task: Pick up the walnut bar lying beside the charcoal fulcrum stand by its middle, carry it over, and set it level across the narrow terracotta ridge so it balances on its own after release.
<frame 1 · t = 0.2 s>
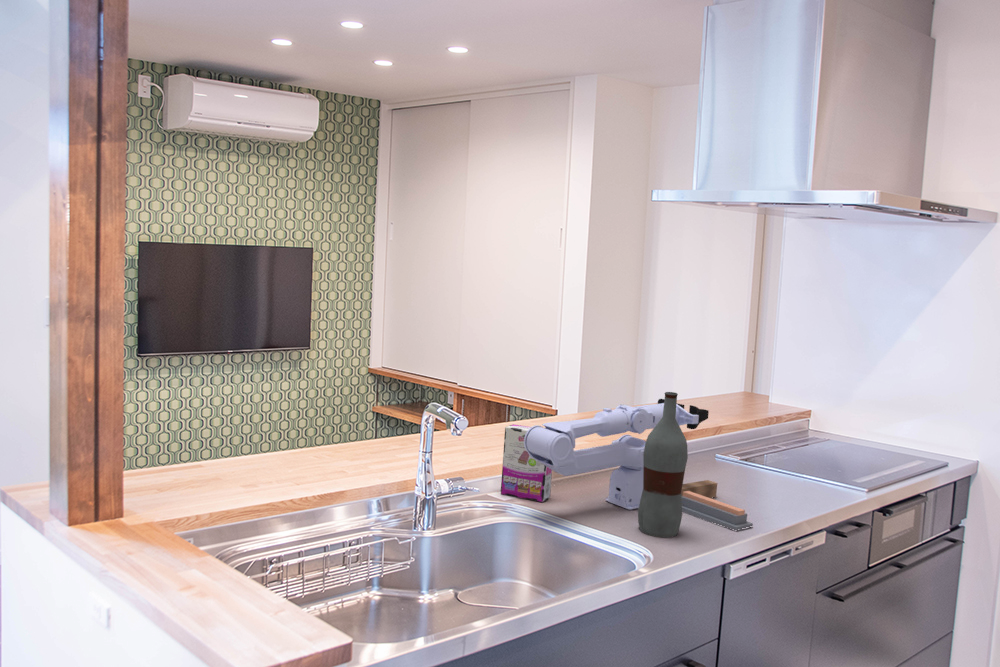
hand: (695, 411, 206), 21 cm above the counter, tool horizontal, fingers open, 7 cm apart
walnut bar: (684, 501, 201), on the counter
fulcrum stand: (711, 517, 189), on the counter
bottle: (658, 531, 177), on the counter
candy bar box: (525, 497, 195), on the counter
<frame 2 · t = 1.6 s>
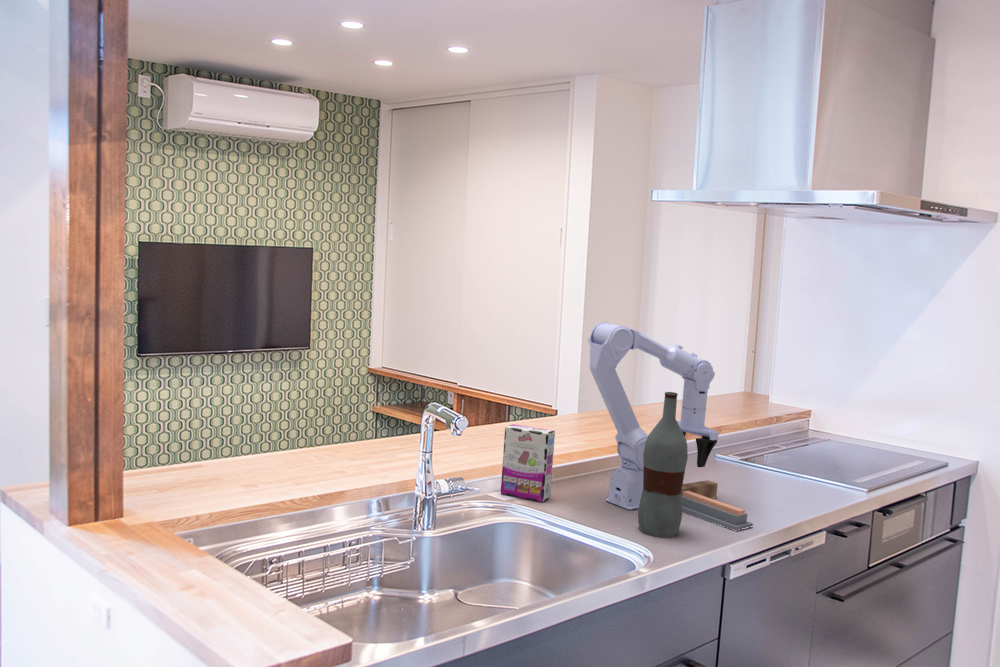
hand: (688, 462, 201), 9 cm above the counter, tool pointing down, fingers open, 7 cm apart
nothing on the counter moved.
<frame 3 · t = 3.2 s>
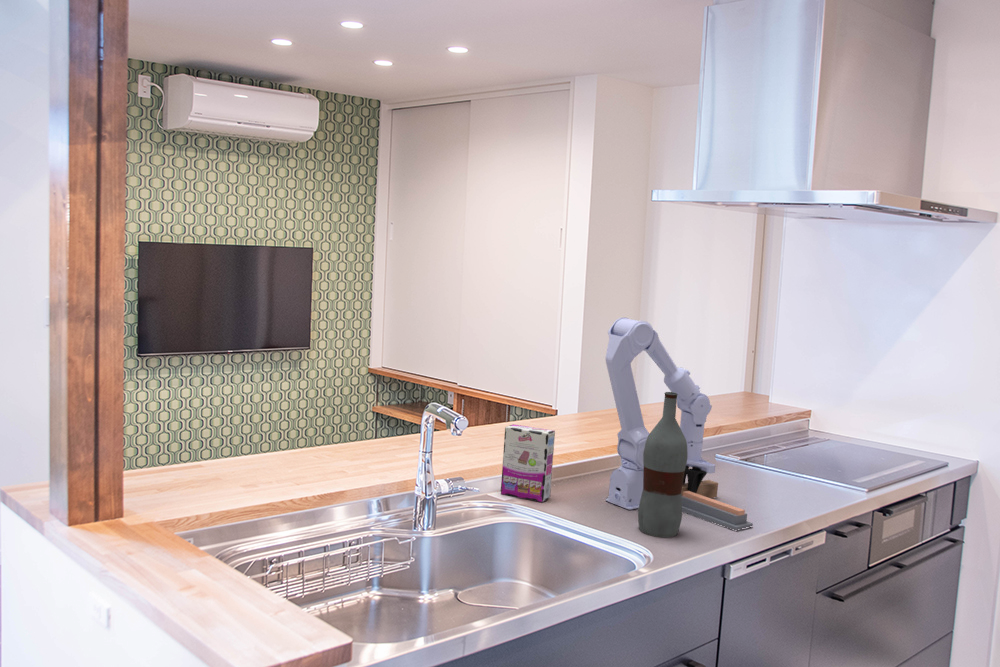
hand: (685, 494, 201), 1 cm above the counter, tool pointing down, fingers closed on walnut bar, 3 cm apart
walnut bar: (684, 501, 201), on the counter, touching gripper
everything else where it was.
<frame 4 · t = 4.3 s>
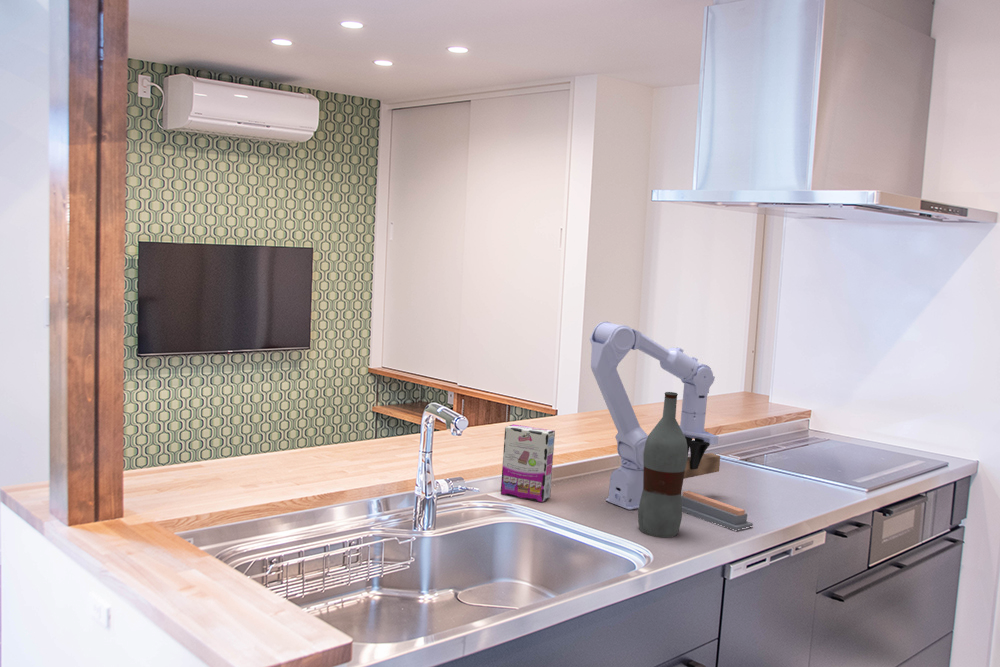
hand: (688, 467, 201), 8 cm above the counter, tool pointing down, fingers closed on walnut bar, 3 cm apart
walnut bar: (687, 475, 201), point 6 cm above the counter, touching gripper
everything else where it was.
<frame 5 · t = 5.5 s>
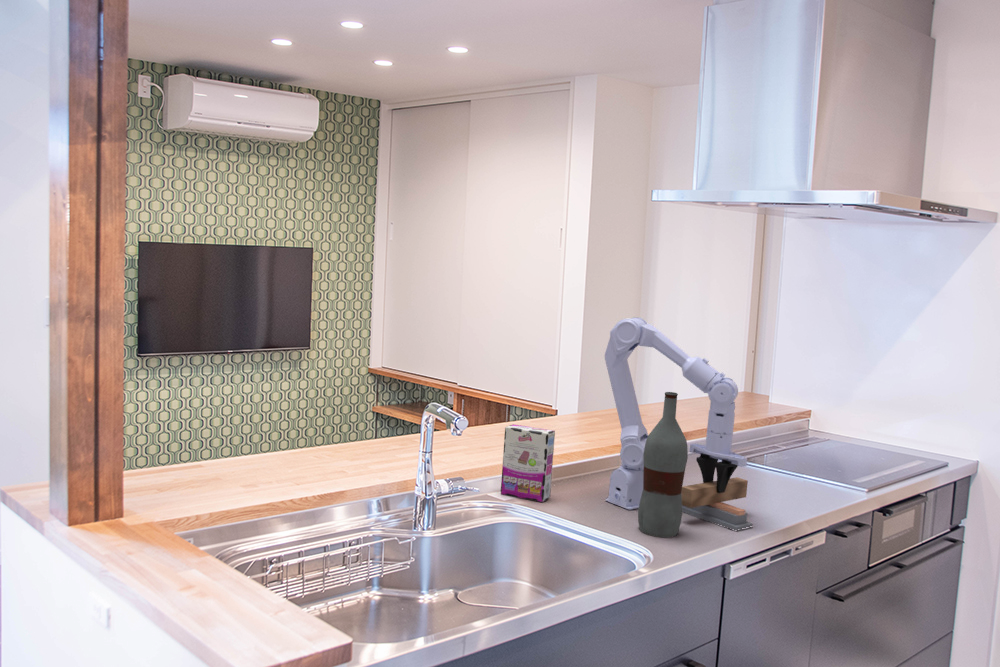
hand: (714, 490, 188), 6 cm above the counter, tool pointing down, fingers closed on walnut bar, 3 cm apart
walnut bar: (713, 500, 189), point 4 cm above the counter, touching fulcrum stand, gripper
everything else where it was.
when the fingers open (6 cm above the counter, at t = 5.8 s): walnut bar stays where it is, resting on fulcrum stand.
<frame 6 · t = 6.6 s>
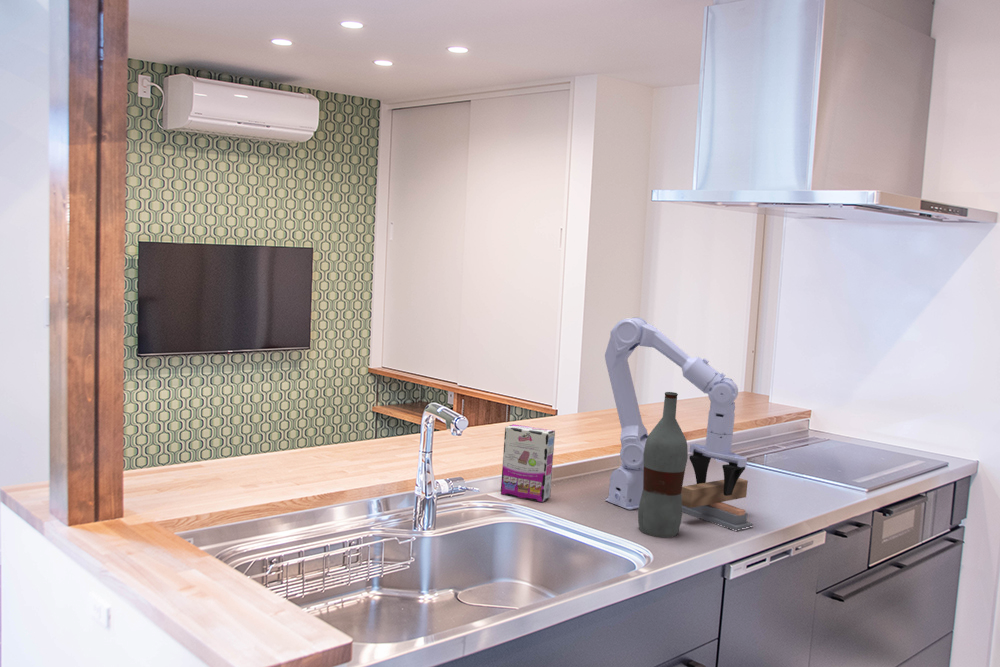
hand: (714, 490, 188), 6 cm above the counter, tool pointing down, fingers open, 7 cm apart
walnut bar: (713, 500, 189), point 4 cm above the counter, touching fulcrum stand
everything else where it was.
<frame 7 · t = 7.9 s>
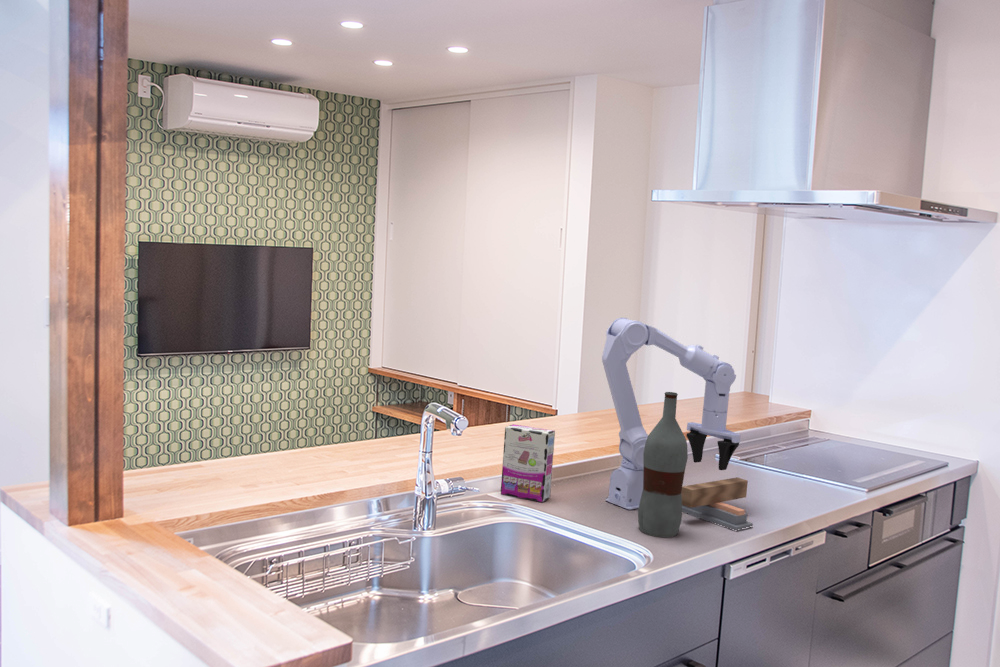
hand: (709, 465, 199), 9 cm above the counter, tool pointing down, fingers open, 7 cm apart
nothing on the counter moved.
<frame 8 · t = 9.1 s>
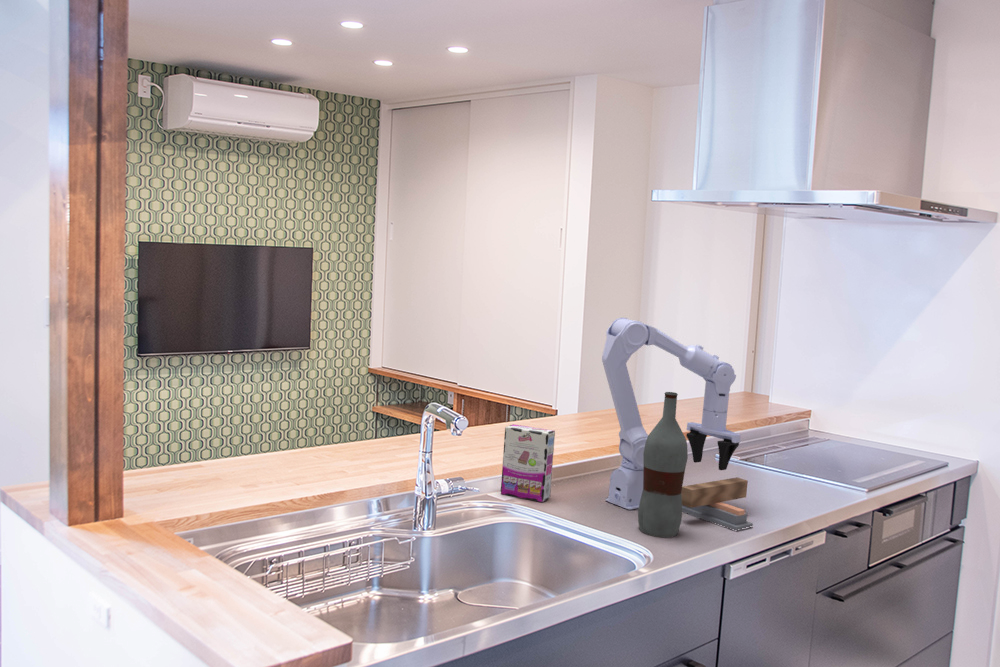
hand: (709, 465, 199), 9 cm above the counter, tool pointing down, fingers open, 7 cm apart
nothing on the counter moved.
at the end: walnut bar inside the target area on the fulcrum stand (0.2 cm from its centre), point 4.0 cm above the fulcrum stand's base; walnut bar tilted 0°; the gripper is holding nothing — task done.
